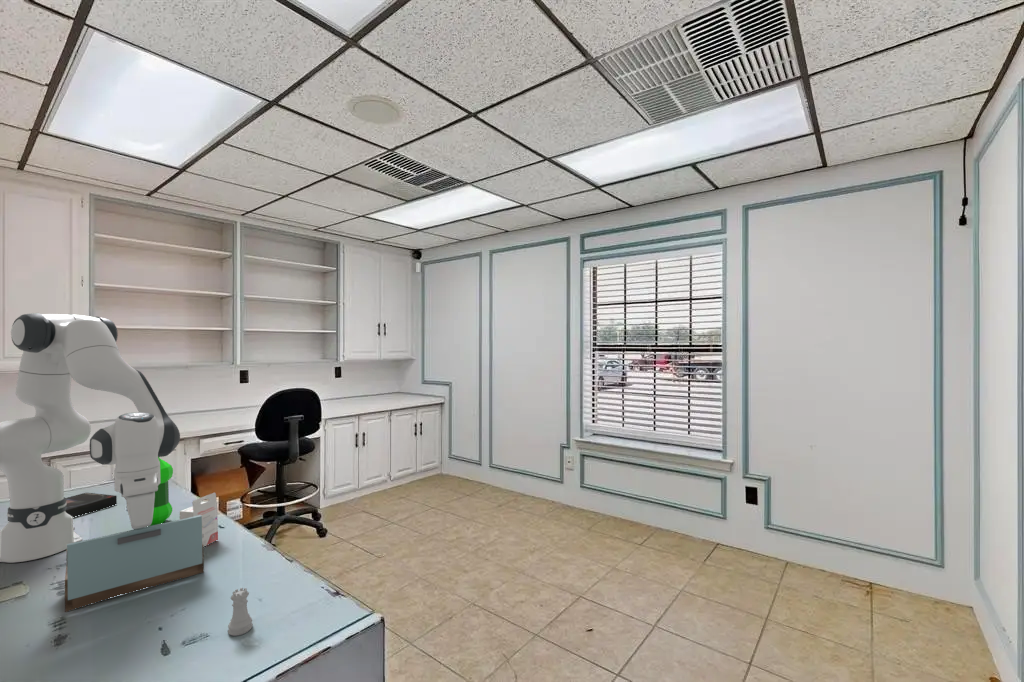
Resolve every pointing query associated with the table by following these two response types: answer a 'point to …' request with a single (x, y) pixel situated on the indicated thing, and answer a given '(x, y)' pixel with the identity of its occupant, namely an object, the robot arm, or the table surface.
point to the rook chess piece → (240, 614)
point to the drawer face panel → (133, 556)
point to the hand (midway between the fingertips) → (139, 536)
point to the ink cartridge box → (205, 517)
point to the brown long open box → (130, 585)
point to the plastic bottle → (162, 495)
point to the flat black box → (88, 503)
